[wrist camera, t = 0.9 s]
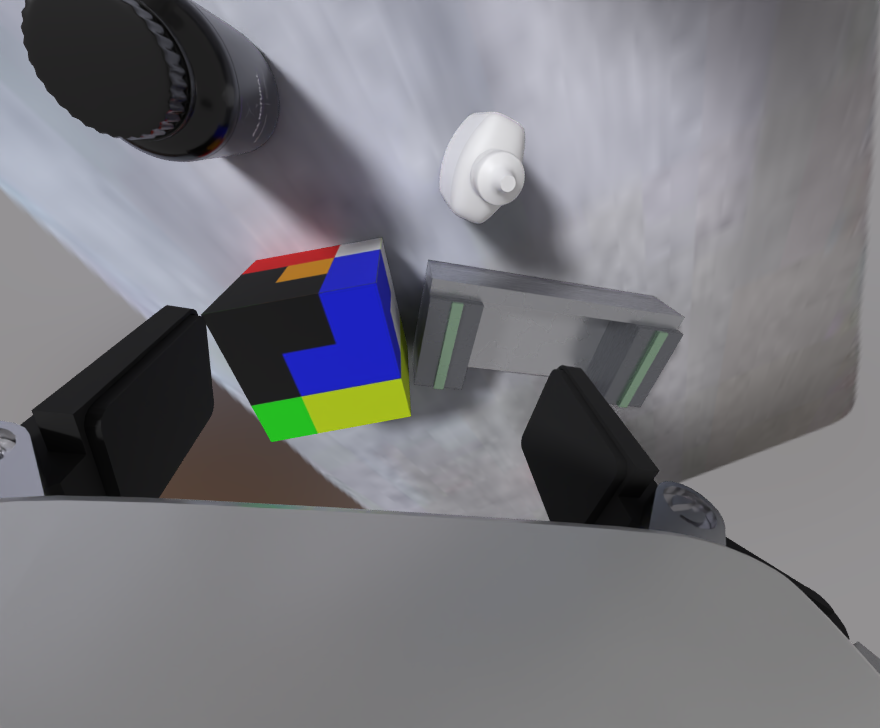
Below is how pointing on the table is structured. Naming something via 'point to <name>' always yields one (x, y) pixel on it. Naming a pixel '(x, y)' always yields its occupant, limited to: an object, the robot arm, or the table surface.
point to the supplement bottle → (154, 75)
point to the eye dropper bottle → (483, 166)
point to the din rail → (540, 330)
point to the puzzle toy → (316, 340)
